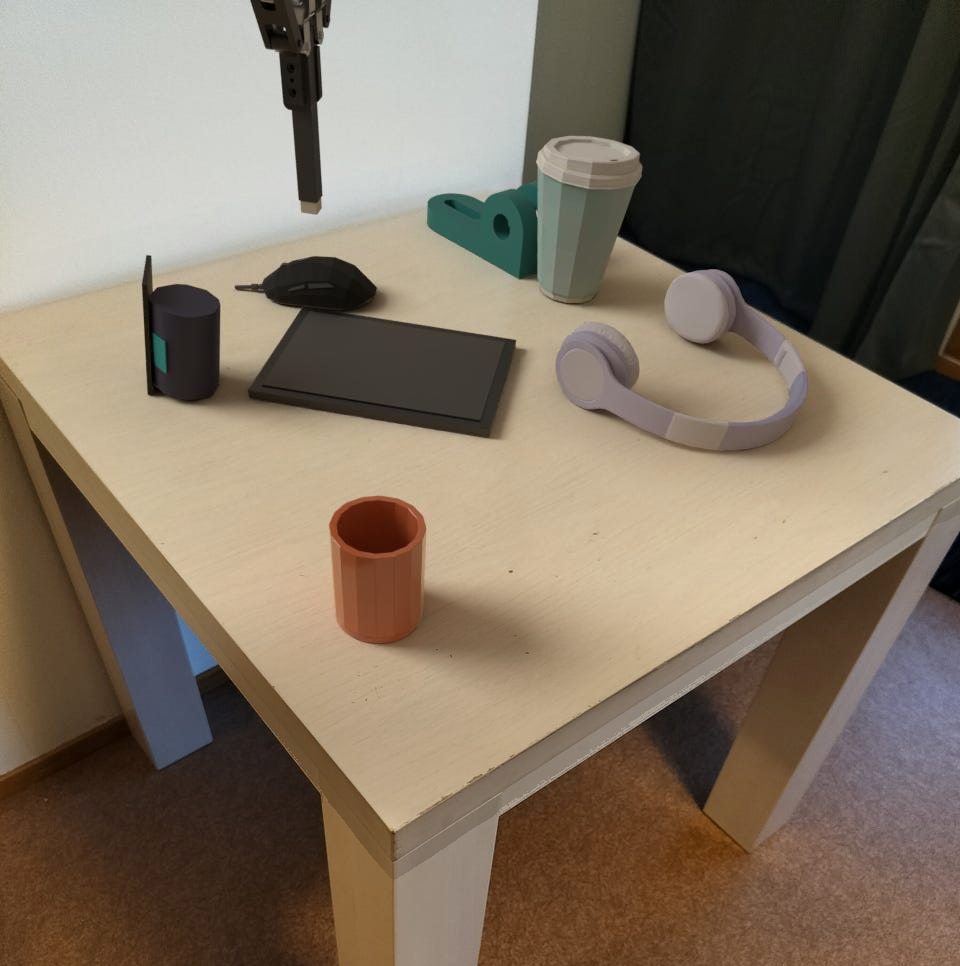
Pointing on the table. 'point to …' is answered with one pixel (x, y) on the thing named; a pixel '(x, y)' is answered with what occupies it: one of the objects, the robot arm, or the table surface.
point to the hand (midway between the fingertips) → (303, 104)
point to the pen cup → (378, 568)
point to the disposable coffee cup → (581, 211)
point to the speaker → (180, 338)
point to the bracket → (492, 226)
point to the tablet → (388, 371)
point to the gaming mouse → (317, 284)
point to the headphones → (699, 318)
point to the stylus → (308, 151)
